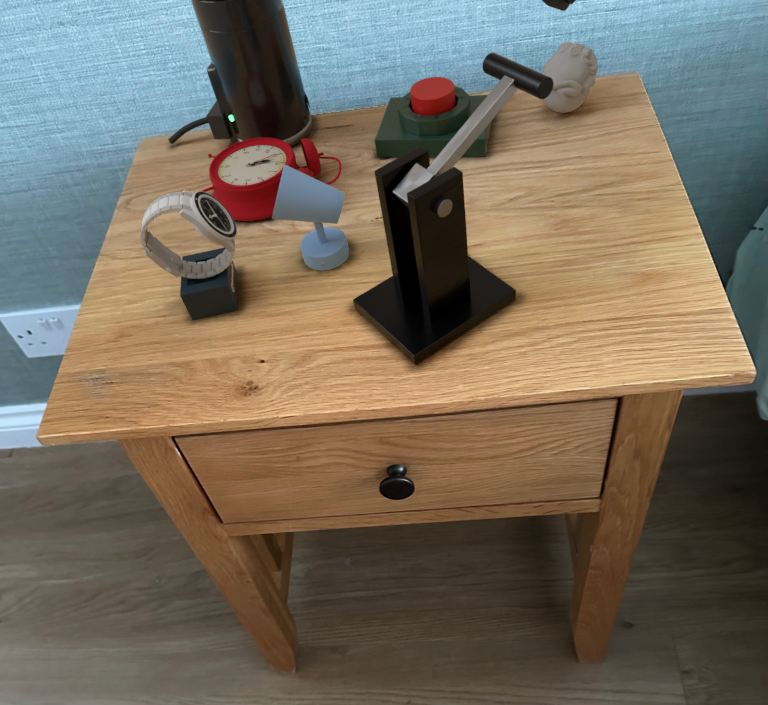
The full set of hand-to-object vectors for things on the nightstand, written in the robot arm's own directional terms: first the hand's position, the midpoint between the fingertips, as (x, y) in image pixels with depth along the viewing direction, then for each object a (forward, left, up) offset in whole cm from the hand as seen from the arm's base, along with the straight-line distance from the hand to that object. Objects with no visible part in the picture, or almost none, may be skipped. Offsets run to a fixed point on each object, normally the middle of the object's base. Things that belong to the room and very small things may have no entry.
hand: (550, 3), depth 49 cm
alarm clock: (-29, +6, -21) cm, 36 cm away
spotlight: (-21, -4, -21) cm, 30 cm away
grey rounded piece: (+1, +22, -21) cm, 31 cm away
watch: (-30, -10, -21) cm, 38 cm away
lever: (-5, -6, -8) cm, 11 cm away
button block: (-13, +17, -21) cm, 30 cm away
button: (-13, +17, -18) cm, 28 cm away
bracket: (-9, -10, -21) cm, 25 cm away
